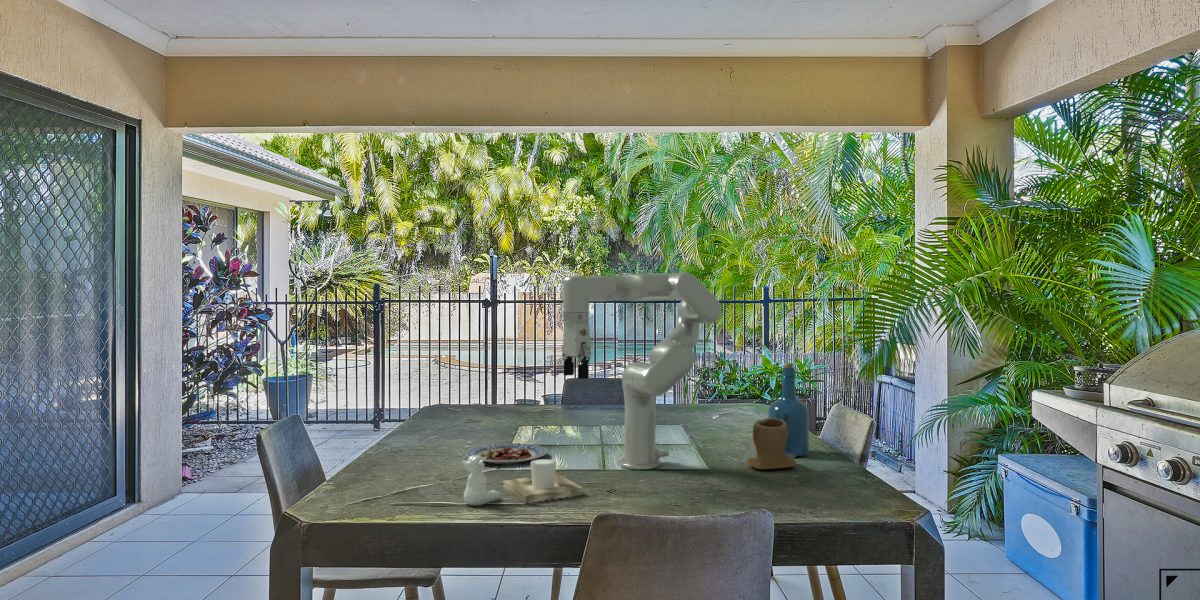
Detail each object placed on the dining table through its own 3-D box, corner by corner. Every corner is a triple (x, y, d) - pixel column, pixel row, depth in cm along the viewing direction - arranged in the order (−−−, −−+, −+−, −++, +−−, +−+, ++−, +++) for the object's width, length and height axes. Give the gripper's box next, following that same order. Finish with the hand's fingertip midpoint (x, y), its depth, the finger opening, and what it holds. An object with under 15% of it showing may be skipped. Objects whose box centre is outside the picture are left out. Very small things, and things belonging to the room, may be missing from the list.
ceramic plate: (562, 455, 223) (562, 446, 223) (511, 472, 201) (511, 462, 201) (502, 446, 237) (502, 437, 237) (448, 461, 215) (449, 451, 215)
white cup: (552, 492, 176) (552, 465, 176) (527, 490, 177) (527, 464, 177) (559, 485, 183) (559, 459, 183) (534, 483, 184) (534, 458, 184)
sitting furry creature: (501, 498, 174) (501, 451, 174) (488, 508, 166) (489, 459, 166) (467, 496, 176) (467, 449, 176) (452, 505, 168) (453, 457, 168)
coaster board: (557, 480, 191) (557, 473, 191) (582, 495, 177) (582, 487, 177) (503, 488, 184) (503, 480, 184) (525, 503, 170) (525, 495, 170)
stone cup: (758, 474, 199) (758, 423, 199) (742, 464, 210) (742, 416, 210) (806, 472, 201) (806, 421, 201) (788, 462, 213) (788, 415, 213)
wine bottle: (814, 458, 219) (814, 365, 219) (773, 458, 219) (773, 365, 219) (802, 449, 233) (802, 361, 233) (763, 448, 233) (763, 361, 233)
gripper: (601, 319, 193) (600, 379, 193) (574, 317, 209) (574, 373, 209) (577, 319, 190) (577, 380, 190) (552, 317, 205) (552, 374, 205)
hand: (575, 376), depth 199 cm, fingers open, 9 cm apart
